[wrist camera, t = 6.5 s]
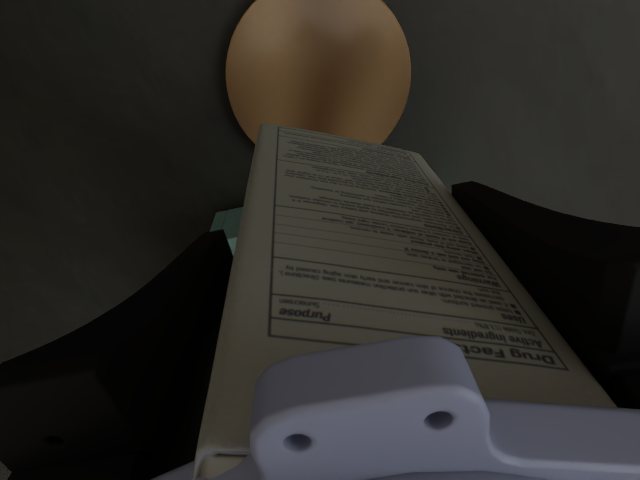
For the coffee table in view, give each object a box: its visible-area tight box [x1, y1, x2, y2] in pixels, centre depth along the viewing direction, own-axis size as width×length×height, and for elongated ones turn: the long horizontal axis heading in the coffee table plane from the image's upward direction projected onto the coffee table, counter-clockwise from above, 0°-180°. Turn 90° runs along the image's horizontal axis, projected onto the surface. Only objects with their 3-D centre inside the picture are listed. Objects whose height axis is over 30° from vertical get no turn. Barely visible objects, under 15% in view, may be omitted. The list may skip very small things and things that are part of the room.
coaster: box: [225, 0, 411, 145], centre depth 21 cm, size 9×9×1 cm
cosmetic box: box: [192, 123, 618, 480], centre depth 11 cm, size 6×4×12 cm
